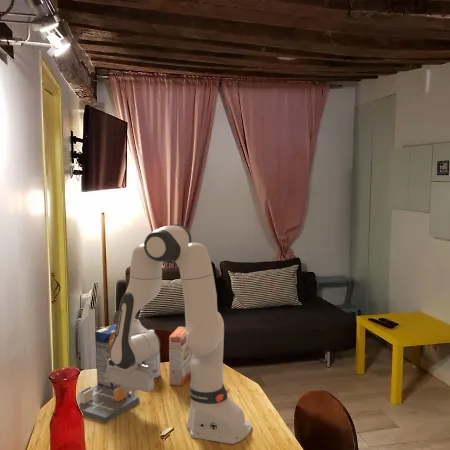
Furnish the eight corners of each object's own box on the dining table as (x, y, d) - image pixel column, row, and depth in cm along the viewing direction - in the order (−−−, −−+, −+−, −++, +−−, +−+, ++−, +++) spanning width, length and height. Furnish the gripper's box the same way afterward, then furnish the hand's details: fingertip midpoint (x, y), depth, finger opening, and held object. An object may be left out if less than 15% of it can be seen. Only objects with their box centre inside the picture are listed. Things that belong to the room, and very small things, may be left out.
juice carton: (117, 377, 209) (115, 323, 206) (130, 381, 205) (129, 326, 202) (97, 388, 198) (95, 331, 196) (111, 392, 195) (108, 334, 192)
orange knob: (126, 396, 185) (126, 385, 185) (118, 401, 182) (118, 389, 181) (121, 395, 187) (121, 383, 186) (113, 400, 183) (113, 388, 182)
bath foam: (150, 371, 215) (149, 327, 213) (163, 374, 212) (162, 329, 210) (140, 377, 209) (139, 331, 207) (154, 380, 206) (152, 334, 204)
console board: (139, 402, 186) (139, 396, 186) (105, 423, 171) (105, 417, 170) (96, 389, 197) (96, 385, 197) (61, 408, 182) (61, 403, 181)
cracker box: (183, 386, 199) (182, 337, 197) (169, 385, 201) (167, 336, 198) (192, 372, 213) (191, 326, 211) (178, 372, 214) (177, 325, 212)
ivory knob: (92, 399, 184) (92, 387, 183) (84, 403, 180) (83, 391, 180) (88, 397, 185) (87, 386, 185) (79, 402, 181) (79, 390, 181)
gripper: (157, 364, 177) (158, 400, 179) (115, 354, 188) (116, 388, 189) (146, 370, 172) (147, 407, 173) (103, 359, 182) (104, 395, 184)
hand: (130, 397), depth 181 cm, fingers closed
